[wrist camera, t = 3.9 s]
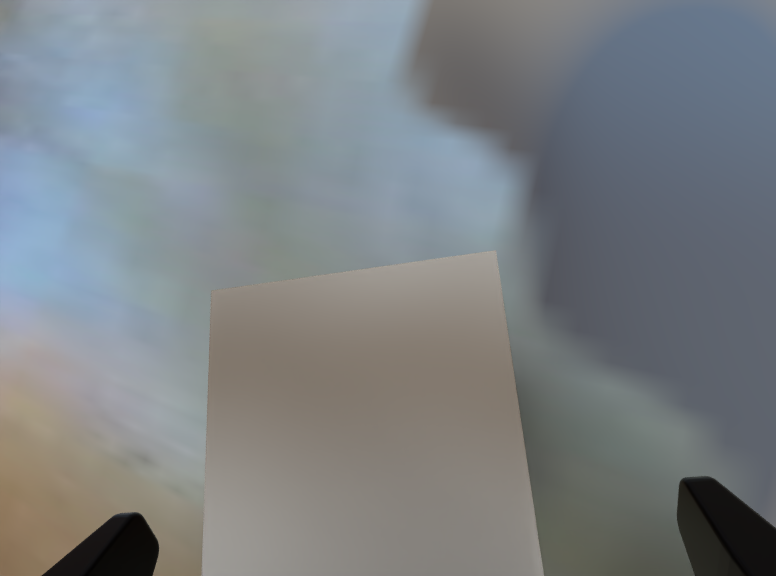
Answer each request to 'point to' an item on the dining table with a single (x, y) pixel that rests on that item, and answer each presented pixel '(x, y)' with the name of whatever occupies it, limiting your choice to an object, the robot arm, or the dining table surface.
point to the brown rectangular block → (367, 427)
